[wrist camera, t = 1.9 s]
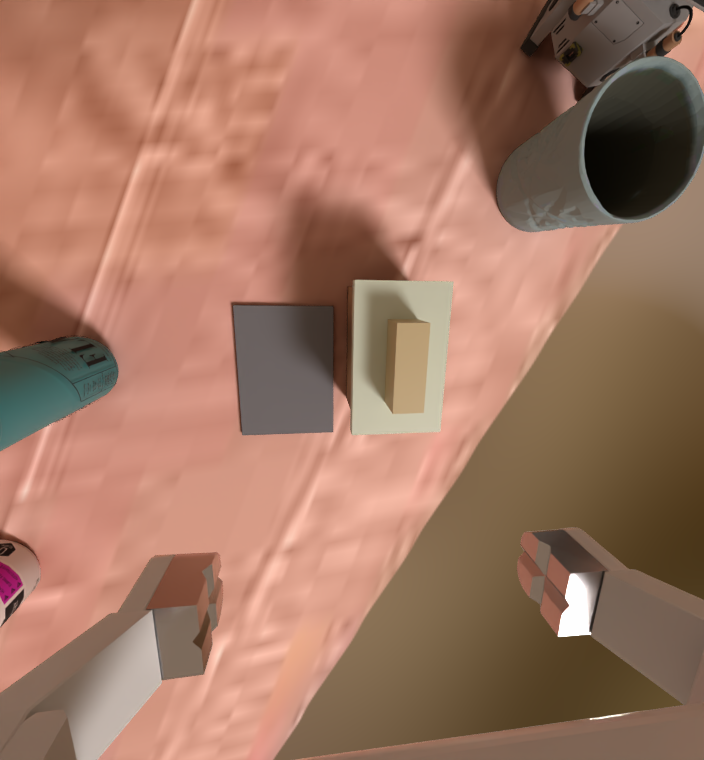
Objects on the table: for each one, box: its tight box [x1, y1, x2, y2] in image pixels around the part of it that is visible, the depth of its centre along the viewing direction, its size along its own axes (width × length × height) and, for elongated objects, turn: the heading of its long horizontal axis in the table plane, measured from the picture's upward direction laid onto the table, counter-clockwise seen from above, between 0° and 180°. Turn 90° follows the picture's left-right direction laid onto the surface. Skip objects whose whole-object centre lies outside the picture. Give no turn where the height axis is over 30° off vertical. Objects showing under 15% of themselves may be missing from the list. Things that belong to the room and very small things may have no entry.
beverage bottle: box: [0, 335, 118, 451], centre depth 25 cm, size 6×7×20 cm
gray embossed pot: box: [496, 56, 704, 232], centre depth 30 cm, size 10×10×12 cm
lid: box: [350, 280, 453, 435], centre depth 28 cm, size 13×8×4 cm, turn 179°
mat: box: [233, 305, 333, 435], centre depth 37 cm, size 14×10×1 cm
